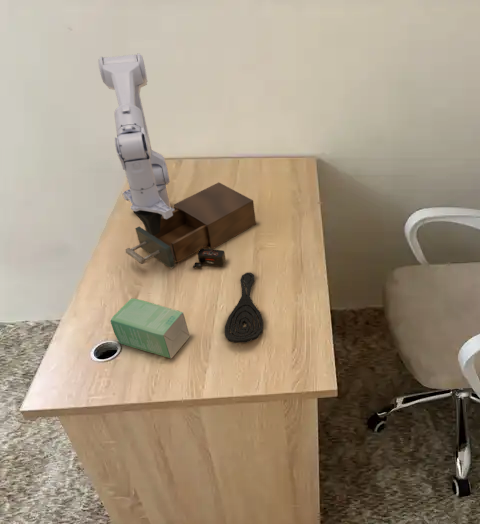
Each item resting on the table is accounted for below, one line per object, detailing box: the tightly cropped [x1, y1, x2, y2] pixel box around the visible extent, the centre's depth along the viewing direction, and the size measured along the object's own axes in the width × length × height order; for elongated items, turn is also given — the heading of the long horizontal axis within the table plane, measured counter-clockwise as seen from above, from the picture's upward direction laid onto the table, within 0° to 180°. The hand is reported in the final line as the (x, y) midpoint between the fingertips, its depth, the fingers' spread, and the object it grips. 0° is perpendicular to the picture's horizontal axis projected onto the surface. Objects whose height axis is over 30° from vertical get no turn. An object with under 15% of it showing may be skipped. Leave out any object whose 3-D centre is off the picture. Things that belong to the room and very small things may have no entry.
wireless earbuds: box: [192, 248, 227, 269], centre depth 142 cm, size 5×7×3 cm, turn 81°
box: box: [110, 297, 190, 359], centre depth 121 cm, size 7×14×8 cm, turn 70°
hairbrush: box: [224, 272, 264, 344], centre depth 130 cm, size 8×4×25 cm
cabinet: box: [173, 181, 257, 250], centre depth 154 cm, size 15×14×8 cm
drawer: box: [125, 209, 210, 269], centre depth 145 cm, size 20×13×6 cm, turn 139°
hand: (154, 233), depth 137 cm, fingers closed
